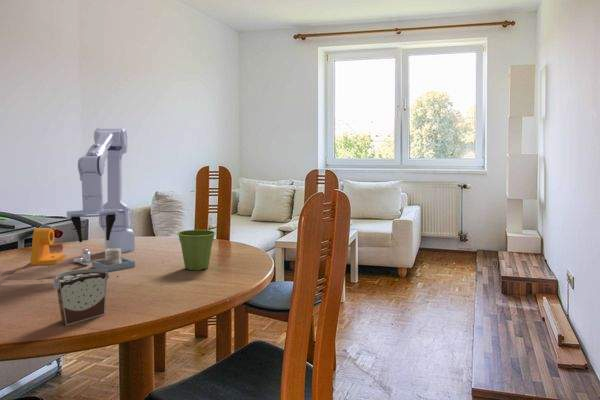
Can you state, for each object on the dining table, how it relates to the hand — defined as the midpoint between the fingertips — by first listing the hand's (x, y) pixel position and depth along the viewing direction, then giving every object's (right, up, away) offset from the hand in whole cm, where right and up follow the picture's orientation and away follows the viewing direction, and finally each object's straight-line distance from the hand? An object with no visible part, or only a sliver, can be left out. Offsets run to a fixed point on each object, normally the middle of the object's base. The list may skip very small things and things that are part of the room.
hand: (94, 240), depth 159 cm
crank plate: (-4, -9, +8) cm, 12 cm away
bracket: (-18, -9, +10) cm, 23 cm away
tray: (+5, -9, +1) cm, 11 cm away
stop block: (+5, -9, +1) cm, 10 cm away
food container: (+13, -14, -43) cm, 47 cm away
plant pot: (+30, -9, +5) cm, 32 cm away
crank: (-6, -7, +5) cm, 11 cm away
